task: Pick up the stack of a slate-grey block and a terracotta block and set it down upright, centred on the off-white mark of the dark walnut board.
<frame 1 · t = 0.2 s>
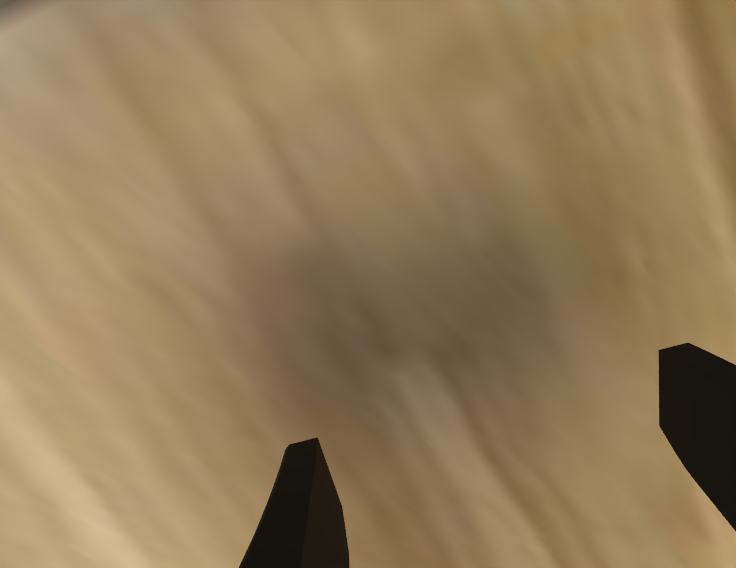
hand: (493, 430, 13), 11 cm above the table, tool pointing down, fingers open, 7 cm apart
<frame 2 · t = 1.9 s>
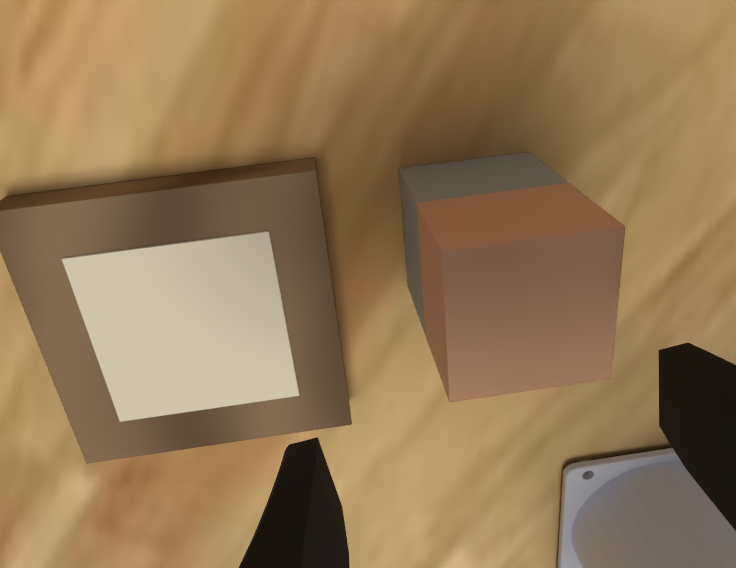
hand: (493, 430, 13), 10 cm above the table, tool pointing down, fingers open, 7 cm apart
walnut board: (196, 309, 23), on the table
block stack: (465, 221, 22), on the table
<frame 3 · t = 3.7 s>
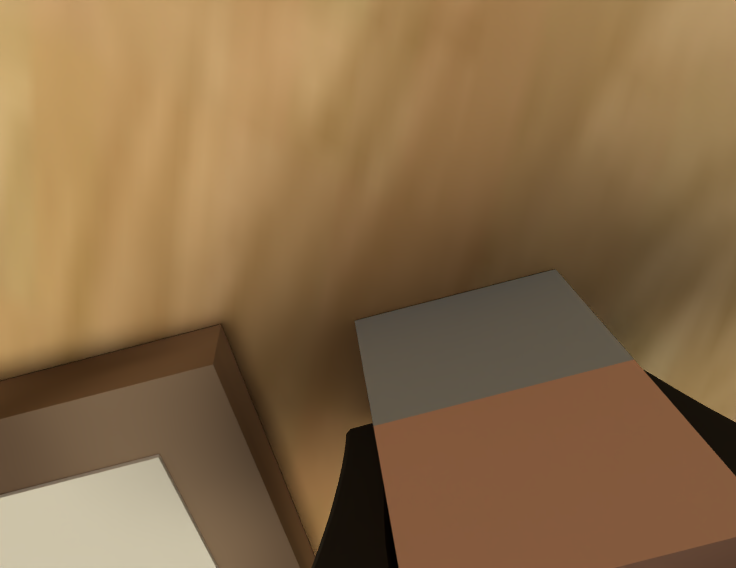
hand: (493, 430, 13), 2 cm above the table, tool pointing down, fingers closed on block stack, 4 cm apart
walnut board: (94, 539, 16), on the table
block stack: (470, 376, 15), on the table, touching gripper
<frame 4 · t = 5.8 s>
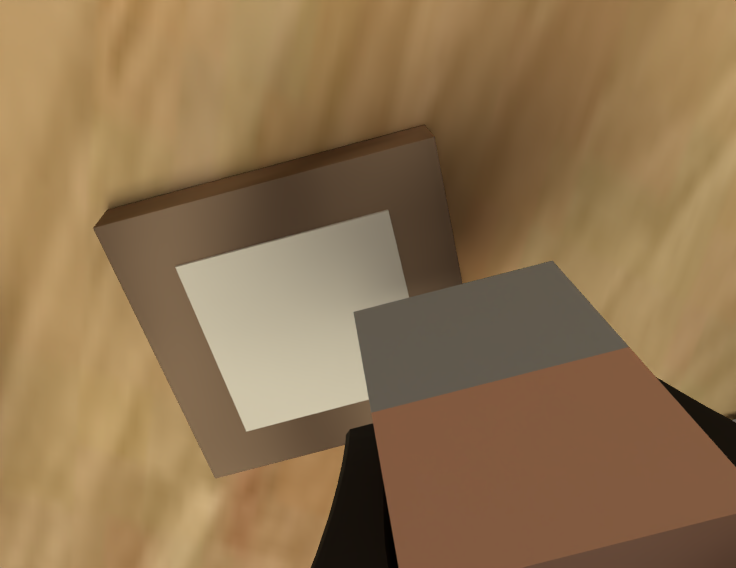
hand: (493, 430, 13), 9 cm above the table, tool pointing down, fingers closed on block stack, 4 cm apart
walnut board: (310, 305, 21), on the table
block stack: (468, 368, 15), point 7 cm above the table, touching gripper
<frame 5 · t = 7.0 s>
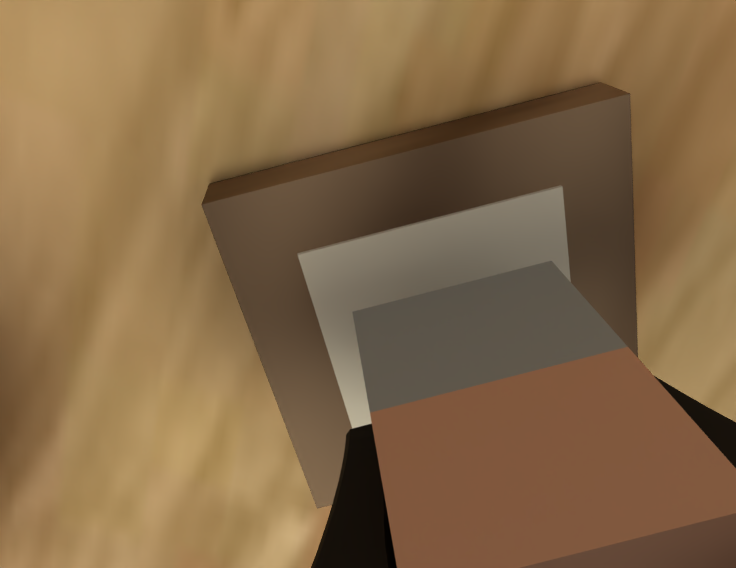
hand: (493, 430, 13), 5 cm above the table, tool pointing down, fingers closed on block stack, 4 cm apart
walnut board: (439, 303, 18), on the table
block stack: (467, 367, 15), point 3 cm above the table, touching gripper
when the fingers open (5 cm above the table, at t = 8.1 s): block stack stays where it is, resting on walnut board.
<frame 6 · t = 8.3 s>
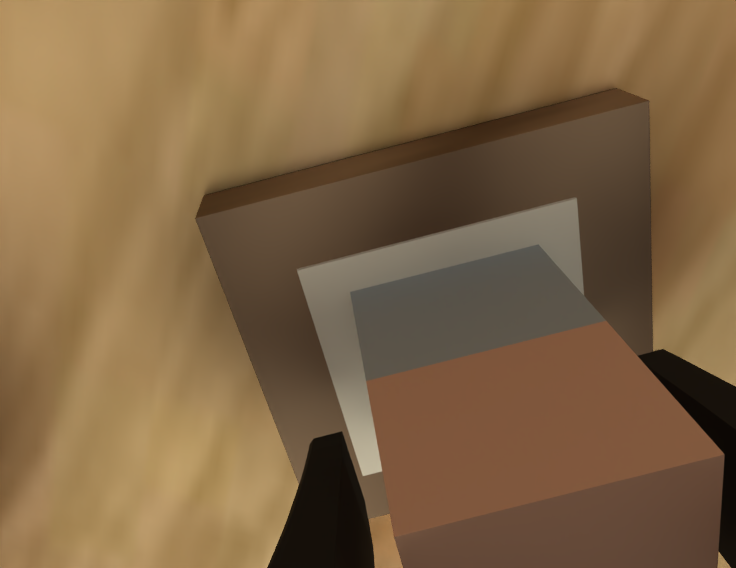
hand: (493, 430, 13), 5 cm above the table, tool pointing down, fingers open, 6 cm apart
walnut board: (445, 318, 17), on the table
block stack: (458, 346, 15), point 2 cm above the table, touching walnut board
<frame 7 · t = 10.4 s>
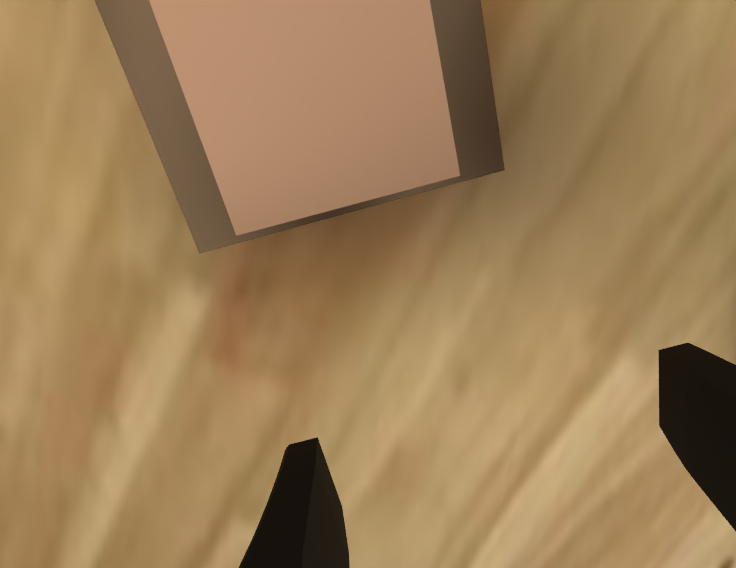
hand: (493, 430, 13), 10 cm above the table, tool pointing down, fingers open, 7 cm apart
walnut board: (305, 43, 19), on the table
block stack: (306, 44, 17), point 2 cm above the table, touching walnut board
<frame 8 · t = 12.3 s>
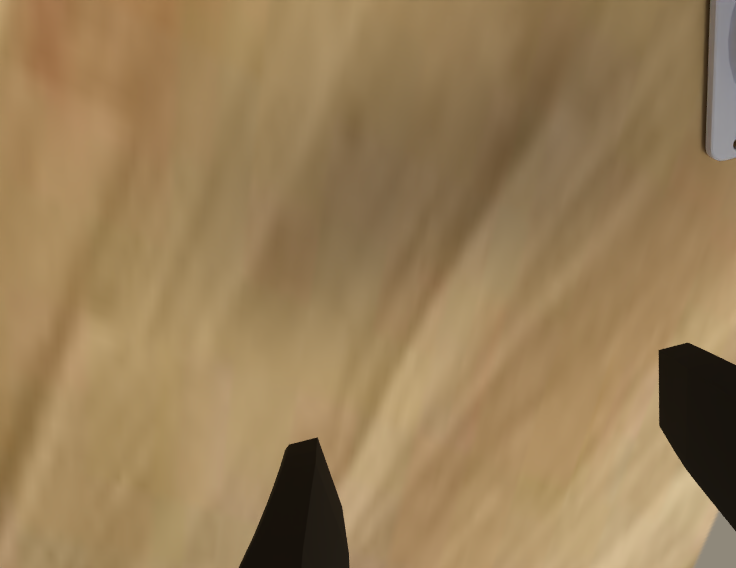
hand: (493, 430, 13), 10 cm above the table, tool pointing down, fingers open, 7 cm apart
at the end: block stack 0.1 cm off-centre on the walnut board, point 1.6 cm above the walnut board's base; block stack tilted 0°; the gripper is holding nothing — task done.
